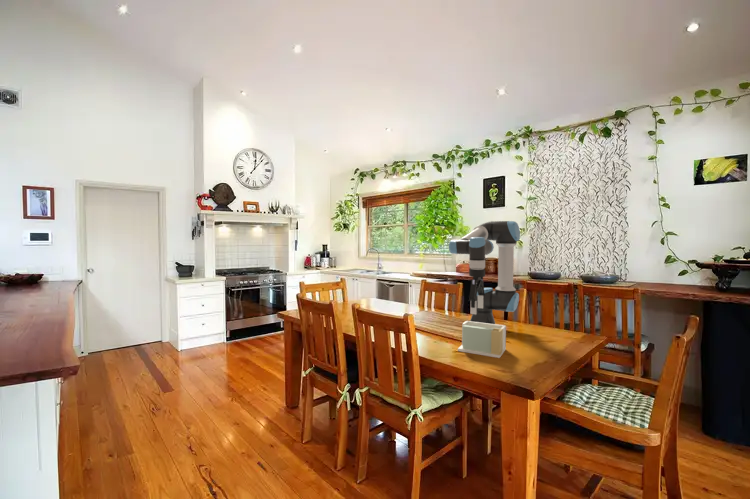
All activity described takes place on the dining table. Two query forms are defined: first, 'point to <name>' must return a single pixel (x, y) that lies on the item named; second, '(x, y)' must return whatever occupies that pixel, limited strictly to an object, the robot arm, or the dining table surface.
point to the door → (482, 339)
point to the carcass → (485, 325)
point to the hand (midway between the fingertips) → (477, 311)
